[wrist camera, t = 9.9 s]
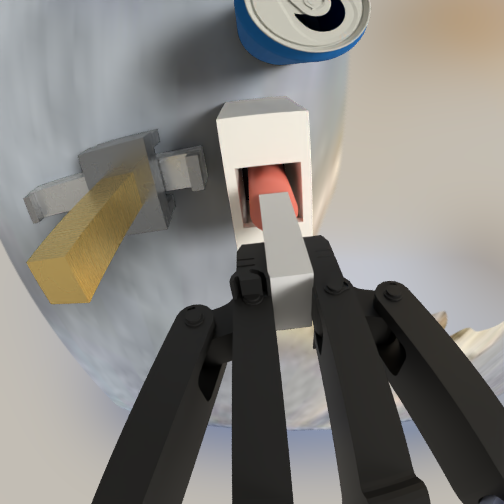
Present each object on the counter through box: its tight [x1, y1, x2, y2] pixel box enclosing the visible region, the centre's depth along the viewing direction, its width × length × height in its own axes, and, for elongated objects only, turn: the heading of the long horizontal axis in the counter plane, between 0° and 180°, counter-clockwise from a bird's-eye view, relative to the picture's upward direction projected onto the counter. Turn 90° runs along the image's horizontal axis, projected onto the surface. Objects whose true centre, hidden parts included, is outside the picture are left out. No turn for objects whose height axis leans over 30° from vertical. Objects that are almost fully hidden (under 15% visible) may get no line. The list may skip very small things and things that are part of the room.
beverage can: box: [234, 0, 371, 65], centre depth 13 cm, size 6×6×12 cm
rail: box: [23, 145, 208, 223], centre depth 24 cm, size 3×19×3 cm, turn 97°
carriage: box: [26, 129, 176, 304], centre depth 19 cm, size 8×6×15 cm
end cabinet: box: [216, 96, 313, 250], centre depth 21 cm, size 10×5×9 cm, turn 7°
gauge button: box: [248, 164, 298, 231], centre depth 19 cm, size 3×3×8 cm
